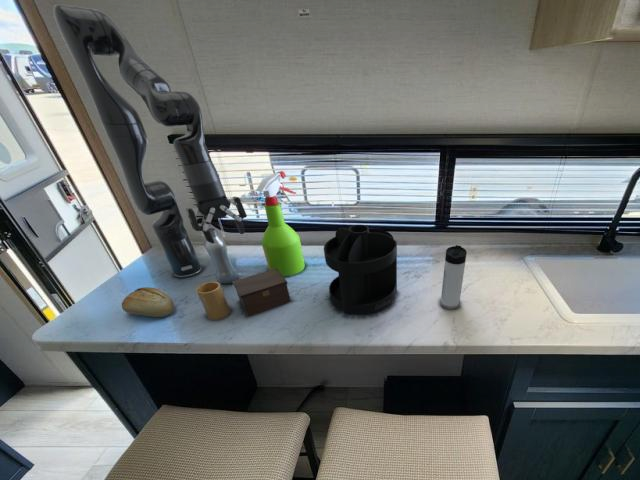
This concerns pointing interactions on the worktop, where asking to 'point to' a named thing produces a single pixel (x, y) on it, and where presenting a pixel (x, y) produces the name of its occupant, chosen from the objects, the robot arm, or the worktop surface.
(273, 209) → the spray bottle
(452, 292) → the travel mug
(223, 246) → the plastic bottle
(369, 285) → the container
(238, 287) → the box
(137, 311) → the bread roll
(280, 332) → the worktop surface
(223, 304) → the cup
